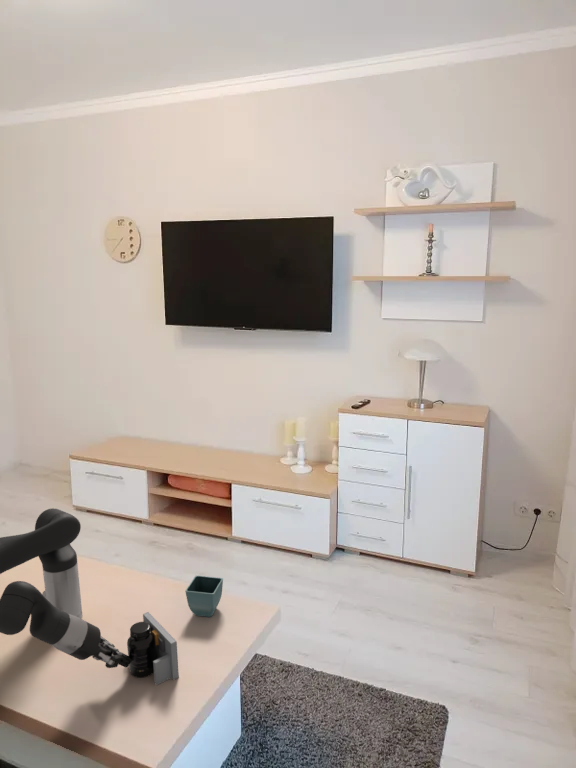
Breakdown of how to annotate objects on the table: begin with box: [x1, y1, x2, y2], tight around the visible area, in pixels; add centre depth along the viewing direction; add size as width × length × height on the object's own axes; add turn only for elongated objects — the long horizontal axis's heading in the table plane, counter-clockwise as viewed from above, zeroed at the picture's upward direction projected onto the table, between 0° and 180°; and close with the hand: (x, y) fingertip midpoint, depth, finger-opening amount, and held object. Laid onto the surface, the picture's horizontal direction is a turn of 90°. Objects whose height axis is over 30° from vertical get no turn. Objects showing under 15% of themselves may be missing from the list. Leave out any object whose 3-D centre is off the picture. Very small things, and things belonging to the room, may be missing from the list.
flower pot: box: [185, 575, 224, 618], centre depth 166 cm, size 9×9×9 cm
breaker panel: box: [142, 611, 180, 686], centre depth 144 cm, size 6×16×10 cm, turn 38°
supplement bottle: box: [126, 621, 157, 679], centre depth 142 cm, size 7×7×12 cm
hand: (128, 662), depth 139 cm, fingers closed
